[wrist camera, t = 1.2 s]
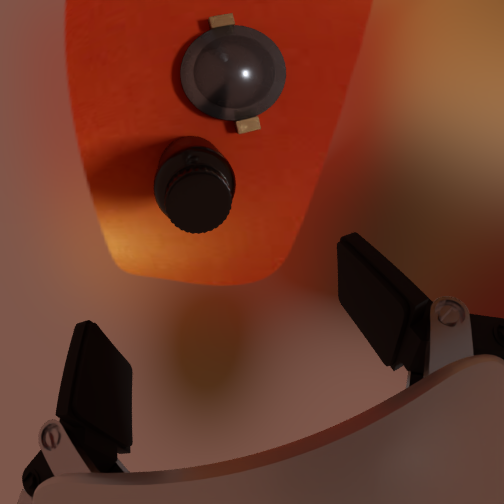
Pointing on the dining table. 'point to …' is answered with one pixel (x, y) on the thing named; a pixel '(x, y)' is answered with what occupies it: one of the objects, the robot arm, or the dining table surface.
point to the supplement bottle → (194, 185)
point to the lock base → (233, 73)
